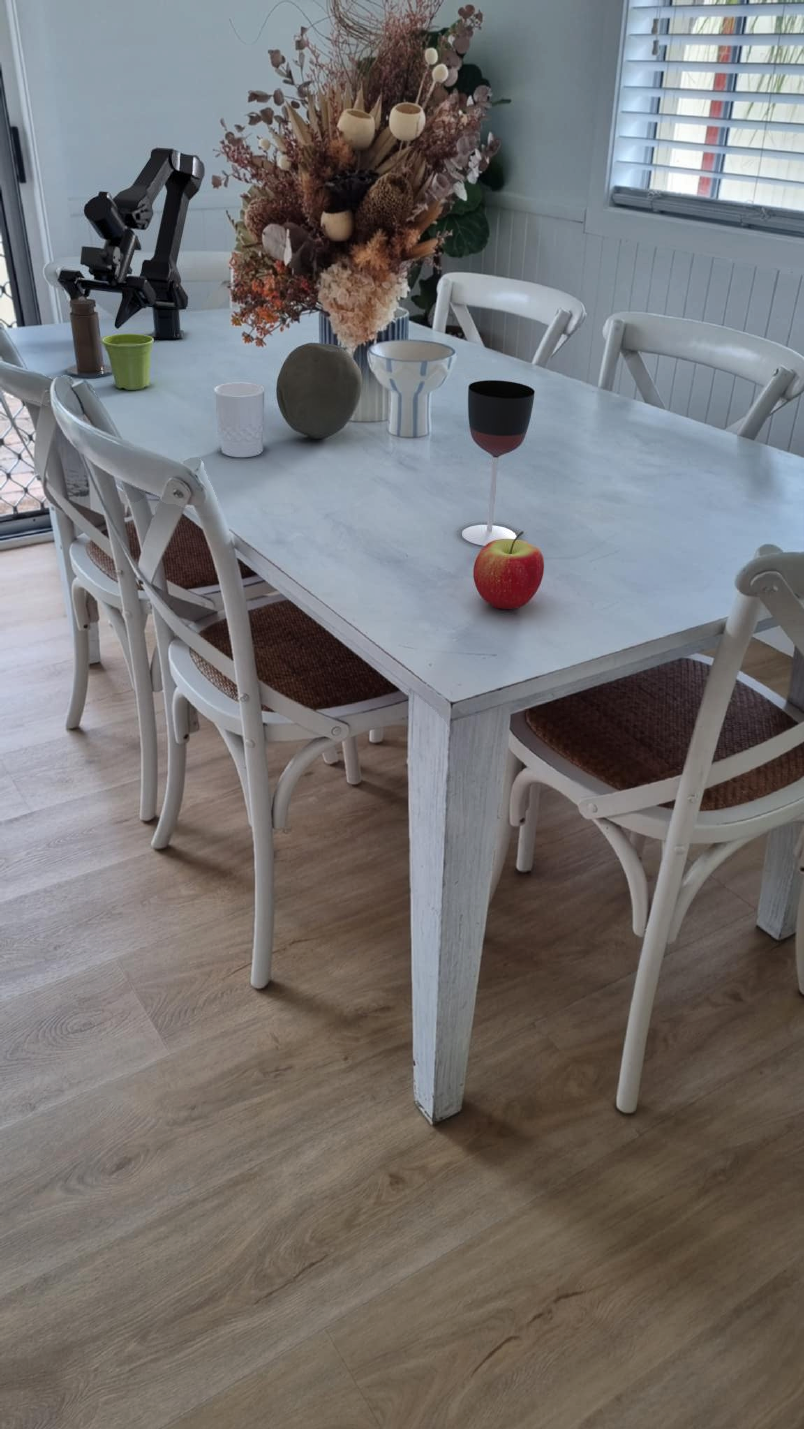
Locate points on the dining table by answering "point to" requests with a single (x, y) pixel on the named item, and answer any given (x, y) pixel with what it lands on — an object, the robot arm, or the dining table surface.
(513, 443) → the wineglass
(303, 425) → the smooth river stone
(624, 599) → the dining table surface
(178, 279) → the robot arm
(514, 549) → the apple
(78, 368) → the pepper mill
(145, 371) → the plant pot
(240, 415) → the white cup
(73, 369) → the coaster
